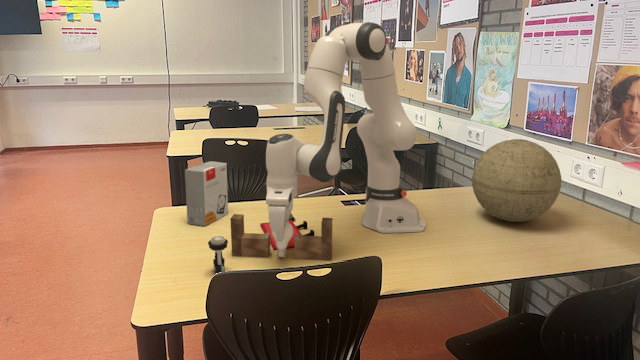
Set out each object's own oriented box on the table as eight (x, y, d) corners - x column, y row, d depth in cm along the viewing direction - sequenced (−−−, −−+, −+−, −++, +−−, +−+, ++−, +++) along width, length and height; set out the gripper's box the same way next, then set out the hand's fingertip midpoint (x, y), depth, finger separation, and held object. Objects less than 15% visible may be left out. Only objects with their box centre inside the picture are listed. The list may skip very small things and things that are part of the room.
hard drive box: (205, 227, 168) (201, 172, 163) (186, 224, 171) (183, 169, 166) (229, 213, 182) (226, 162, 177) (211, 211, 185) (209, 160, 180)
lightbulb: (295, 259, 143) (297, 223, 142) (275, 261, 140) (277, 223, 139) (286, 254, 148) (288, 219, 147) (267, 255, 145) (269, 219, 144)
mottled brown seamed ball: (516, 203, 197) (525, 131, 189) (574, 229, 170) (587, 145, 162) (452, 210, 188) (459, 134, 180) (503, 238, 161) (514, 150, 153)
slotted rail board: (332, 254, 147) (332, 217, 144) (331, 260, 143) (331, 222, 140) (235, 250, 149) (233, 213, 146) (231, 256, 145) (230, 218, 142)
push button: (208, 266, 138) (206, 234, 135) (227, 264, 140) (225, 232, 137) (210, 277, 132) (208, 243, 129) (230, 274, 134) (228, 241, 131)
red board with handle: (295, 215, 181) (256, 219, 177) (295, 208, 181) (256, 212, 176) (320, 246, 154) (274, 253, 150) (320, 238, 153) (273, 244, 149)
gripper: (277, 180, 151) (278, 221, 155) (264, 200, 131) (265, 247, 135) (297, 180, 150) (297, 222, 154) (287, 201, 131) (288, 248, 134)
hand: (282, 234), depth 144 cm, fingers open, 8 cm apart
